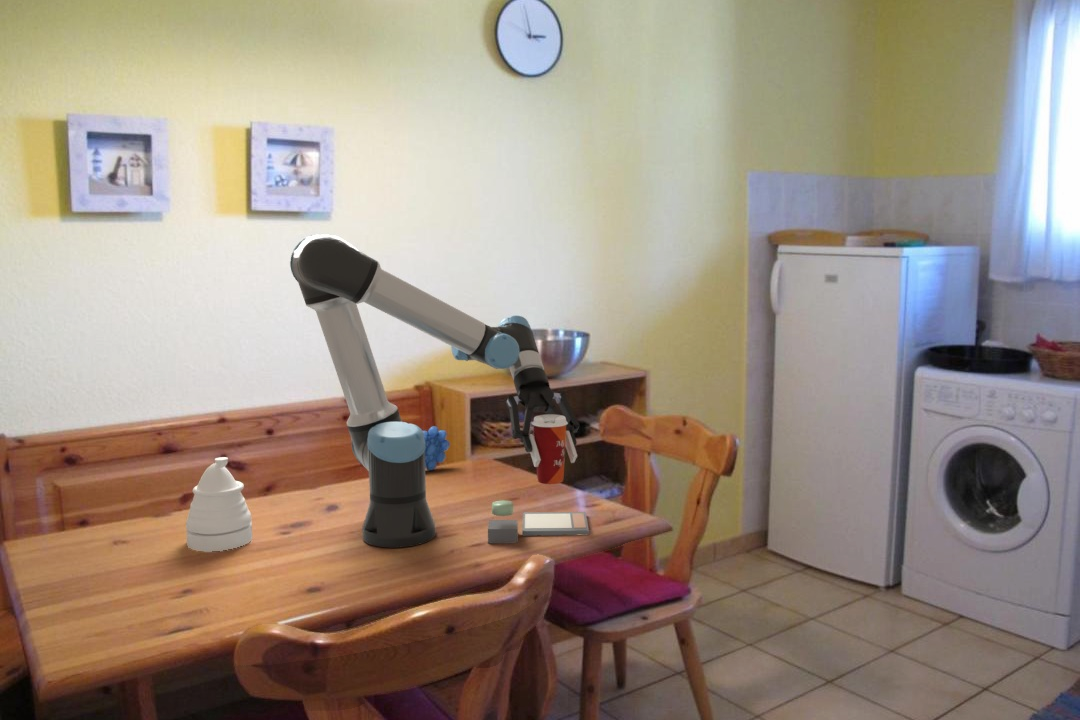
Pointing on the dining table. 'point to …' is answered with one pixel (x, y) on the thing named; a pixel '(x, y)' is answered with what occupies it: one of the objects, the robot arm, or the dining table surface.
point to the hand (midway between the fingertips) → (556, 461)
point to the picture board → (554, 523)
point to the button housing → (503, 531)
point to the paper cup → (550, 447)
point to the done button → (502, 508)
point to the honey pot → (218, 512)
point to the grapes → (435, 447)
